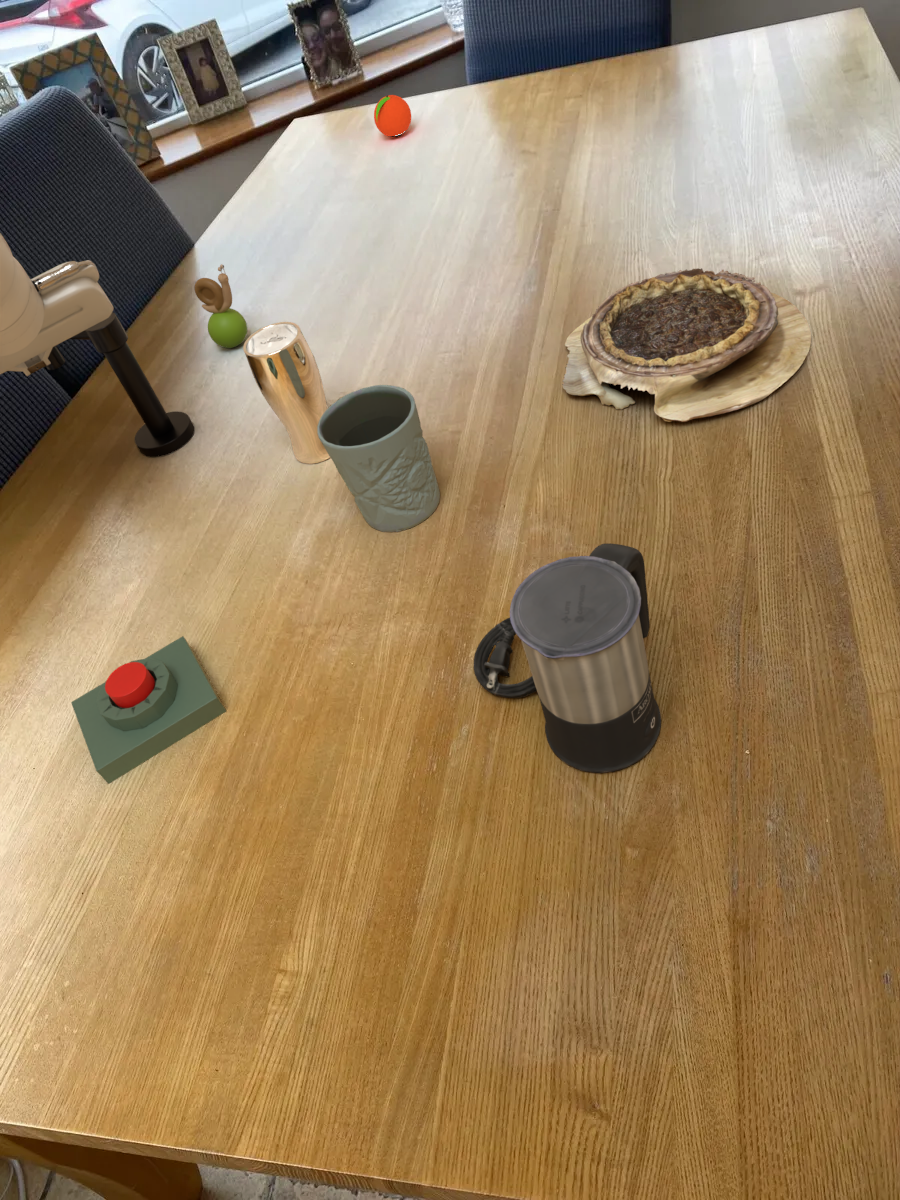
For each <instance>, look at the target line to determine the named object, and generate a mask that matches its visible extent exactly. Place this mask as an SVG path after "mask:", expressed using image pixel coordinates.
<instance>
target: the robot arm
mask: <svg viewBox="0 0 900 1200" xmlns="http://www.w3.org/2000/svg"><path fill="white" fill-rule="evenodd" d="M99 280H100V272H99V270H98V268H97V266H96V264H95V263H94V262H93V261H92V260H89V259H87V260H82V261H75V260H71V261H66V262H63V263H61V264H57V266H55V267H54V266H53V268H50V269H48V270H47V271H45V272H42V273H41V274H39V275H36V276H34V277H33V278H30V276H29V275H28V274H27V271H26V270H25V269H24V267H23V266H22V264H21V263H20V262H19V260H18V259H17V258H16V257H14V256H13V253H12V250H11V248H10V245H9V243H8V242H7V241H6V238H4V236H3V234H2V233H1V232H0V375H2V374H4V373H6V372H23V374H25V376H26V377H29V376H30V375H32V374H34V373H35V372H38V371H39V370H41V369H43V368H45V367H46V366H47V365H49V364H51V362H50V361H49V359H48V357H49V355H50V352H51V350H52V347H54V346H56V347H57V346H58V345H59V344H62V343H63V342H65V341H67V340H70V339H69V338H71V337H73V336H75V335H77V334H79V333H80V332H82V331H84V330H86V329H88V328H90V327H92V326H94V325H96V324H98V323H100V322H101V321H103V320H105V319H107V318H109V316H110V315H111V313H113V312H114V306H113V304H112V302H111V300H110V299H109V297H108V296H107V294H106V293H105V290H104V289H103V287H102V286H101V285H100V283H99Z"/></svg>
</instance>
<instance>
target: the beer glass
mask: <svg viewBox="0 0 900 1200" xmlns="http://www.w3.org/2000/svg"><path fill="white" fill-rule="evenodd" d="M242 348H243V349H242V350H243V353H244V355H245V357H246V360H247V363H248V365H249V368H250V371H251V374H252V376H253V378H254V381H255V382H256V385H257V387H258V389H259V391H260V393H261V394H262V396H263V398H264V399H265V401H266V403H267V404H268V405H269V407H270V408H271V410H272V411H273V412H274V414H275V415H276V417H277V418H278V420H279V421H280V422H281V423H282V425H283V427H284V428H285V430H286V431H287V434H288V436H289V439H290V442H291V446H292V452H293V454H294V457H295V459H296V460H297V461H298V462H299V463H302V464H306V465H312V464H319V463H322V462H325V461H327V460H329V459H331V457H330V456H329V454H328V453H327V451H326V449H325V448H324V446H323V444H322V442H321V441H320V439H319V437H318V432H317V426H318V423H319V420H320V418H321V416H322V415H323V413H324V412H325V411H326V410H327V409H328V408H329V407H328V405H327V400H326V396H325V395H326V394H325V390H324V385H323V381H322V377H321V372H320V369H319V367H318V364H317V362H316V358H315V356H314V353H313V351H312V350H311V347H310V346H309V344H308V341H307V339H306V338H305V336H304V334H303V332H302V330H301V327H300V325H298V324H297V323H295V322H292V321H279V322H274V323H271V324H268V325H266V326H263V327H261V328H259V329H258V330H256V331H254V332H253V333H252V334H250V335H249V336H248V337H247V339H246V340H244V342H243V347H242Z"/></svg>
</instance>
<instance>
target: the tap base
mask: <svg viewBox="0 0 900 1200" xmlns="http://www.w3.org/2000/svg"><path fill="white" fill-rule="evenodd" d="M127 342H128V341H126V343H125V344H124V345H122V346H121V347H120V348H118V349H116V350H114V351H111V352H108V353H103V356H104V357H105V359H106V361H107V363H108V364H109V365H110V367H111V369H112V371H113V372H114V374H115V375H116V377H117V380H119V383H120V384H121V386H122V387H123V389H124V391H125V393H126V394H127V397H129V399H130V401H131V402H132V404H133V406H134V408H135V410H136V411H137V413H138V415H139V417H140V418H141V420H142V421H143V423H144V424H142V426H141V427H140V428H139V429H137V432H136V433H135V435H134V443H135V445H136V447H137V448H138V451H139V452H140V454H141V455H142V456H144V457H148V458H161V457H165V456H167V455H170V454H173V453H174V452H176V451H178V450H180V449H181V448H183V447H184V446H185V445H186V444H188V443H189V441H190V440H191V439H192V438H193V436H194V434H195V429H196V428H195V425H194V423H193V421H192V419H191V417H190V416H189V414H187V413H186V412H183V411H177V410H176V411H168V412H166V410H165V408H164V406H163V405H162V403H161V401H160V398H158V396H157V394H156V392H155V390H154V388H153V387H152V385H151V383H150V382H149V380H148V378H147V375H146V374H145V372H144V370H143V369H142V367H141V365H140V364H139V362H138V360H137V357H136V356H135V355H134V353H133V351H132V350H131V348H130V346H129V344H128V343H127Z"/></svg>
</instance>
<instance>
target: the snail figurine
mask: <svg viewBox="0 0 900 1200" xmlns="http://www.w3.org/2000/svg"><path fill="white" fill-rule="evenodd" d="M222 270H223V272H222ZM217 271H219V272H220V273H219V274H218V275H217V280H218V282H217V281H216V280H214V279H212V278H209V277H201V278H199V279H197V280H196V282H195V284H194V287H193V288H194V293H195V296H196V297H197V299H198V300H199V301H200V302H201V303H203V304H201V308H203V309H204V311H206V312H208V313H210V314H211V315H210V317H209V318H208V322H207V331H208V335H209V337H210V339H211V340H212V341H213V342H214V343H215V344H216V345H218V346H220V347H222V348H226V349H232V348H235V347H238V346H240V345H241V344H242V343H244V342H245V339H246V337H247V335H248V325H247V322H246V319H245V317H244V316H243V315H242V314H241V313H240V312H239V311H237V310H236V309H234V308H231V307H232V305H233V294H232V288H231V284H230V282H229V277H228V274H227V273H226V271H225V265H224V264H223V263H222V264H221V263H220V265H219V266H218V267H217Z"/></svg>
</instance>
